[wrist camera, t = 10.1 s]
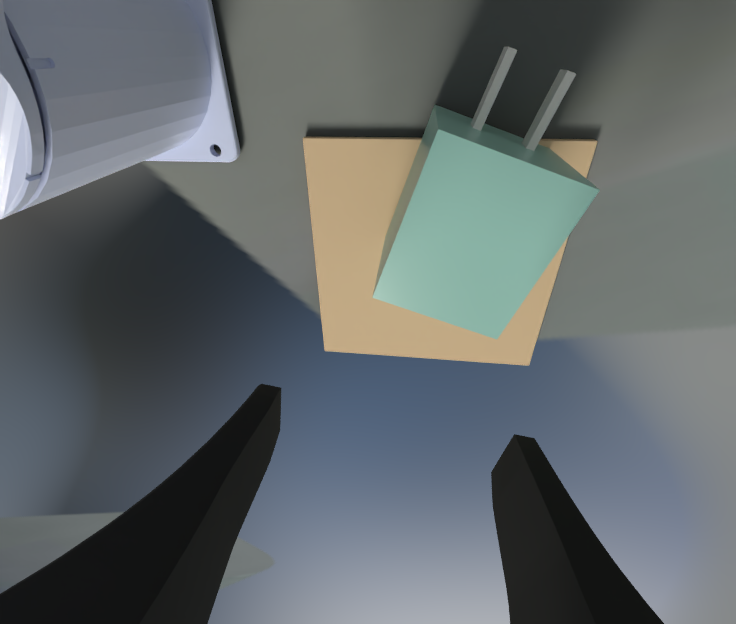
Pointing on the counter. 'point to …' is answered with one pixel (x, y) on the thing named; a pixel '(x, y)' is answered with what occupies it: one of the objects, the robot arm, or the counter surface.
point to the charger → (480, 215)
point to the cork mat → (364, 249)
